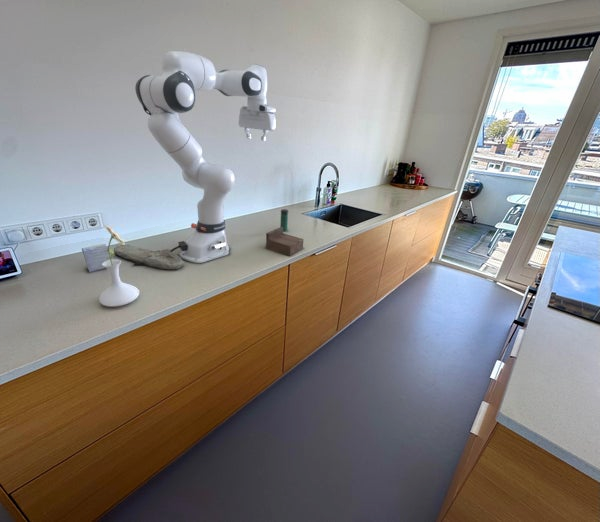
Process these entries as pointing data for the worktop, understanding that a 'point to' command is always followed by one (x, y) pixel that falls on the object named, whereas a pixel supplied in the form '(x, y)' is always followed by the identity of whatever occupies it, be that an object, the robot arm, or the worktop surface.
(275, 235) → the stand
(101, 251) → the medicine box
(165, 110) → the robot arm
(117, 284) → the flower in vase
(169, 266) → the long grey stone
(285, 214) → the marker
